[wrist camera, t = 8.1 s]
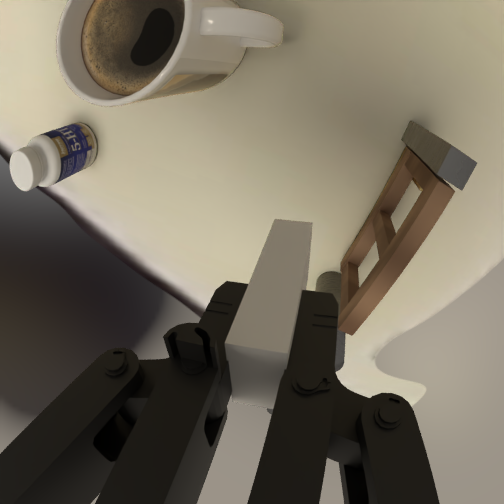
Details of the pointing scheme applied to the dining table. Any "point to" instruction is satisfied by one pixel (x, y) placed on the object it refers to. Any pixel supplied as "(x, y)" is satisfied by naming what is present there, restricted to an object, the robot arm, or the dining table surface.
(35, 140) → the pill bottle
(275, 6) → the dining table surface
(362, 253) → the gate
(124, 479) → the robot arm
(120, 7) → the mug
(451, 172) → the block
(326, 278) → the fence
